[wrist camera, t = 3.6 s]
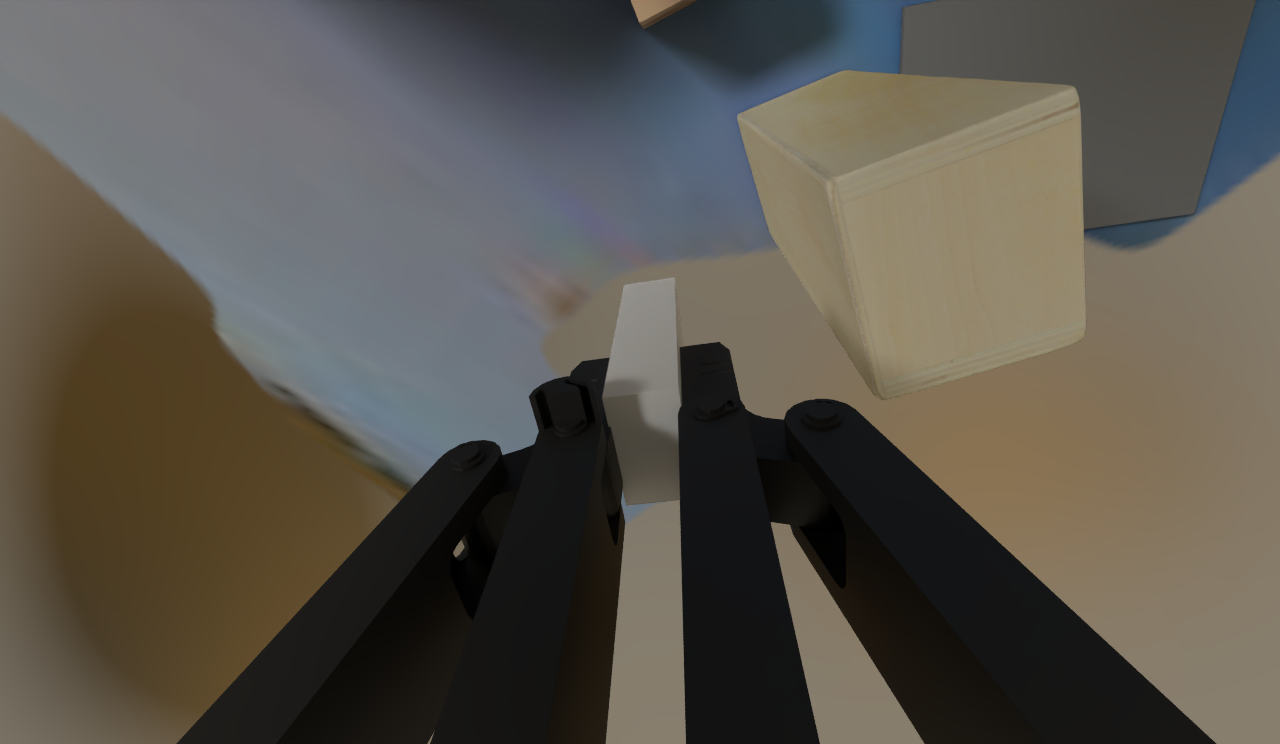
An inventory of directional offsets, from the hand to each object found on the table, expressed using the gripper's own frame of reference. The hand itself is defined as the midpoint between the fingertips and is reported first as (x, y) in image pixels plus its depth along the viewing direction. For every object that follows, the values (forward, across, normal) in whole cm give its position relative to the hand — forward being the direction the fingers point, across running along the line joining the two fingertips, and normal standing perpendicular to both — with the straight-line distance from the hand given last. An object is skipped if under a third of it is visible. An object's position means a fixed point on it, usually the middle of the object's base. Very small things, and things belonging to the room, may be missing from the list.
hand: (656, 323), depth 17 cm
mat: (+22, +23, 0) cm, 32 cm away
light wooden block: (+22, +9, 0) cm, 24 cm away
